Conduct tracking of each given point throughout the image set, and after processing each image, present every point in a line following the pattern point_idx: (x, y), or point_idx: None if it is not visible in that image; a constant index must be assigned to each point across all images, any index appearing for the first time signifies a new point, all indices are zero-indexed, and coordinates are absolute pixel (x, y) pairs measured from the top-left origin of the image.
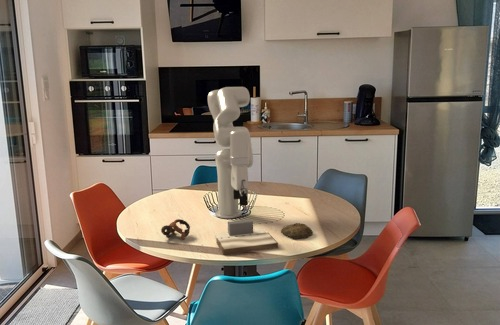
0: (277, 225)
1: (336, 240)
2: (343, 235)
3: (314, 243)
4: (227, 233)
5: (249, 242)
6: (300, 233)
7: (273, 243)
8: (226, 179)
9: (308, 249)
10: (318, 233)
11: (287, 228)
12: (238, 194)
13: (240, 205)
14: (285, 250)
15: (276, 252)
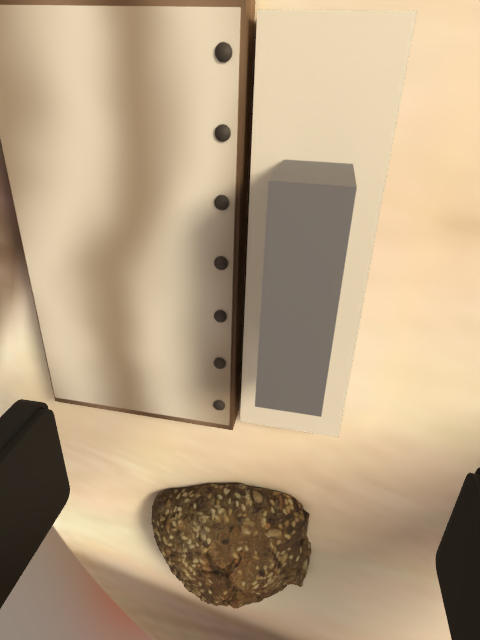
0: (403, 526)
1: (114, 593)
2: (158, 633)
3: (99, 527)
4: (351, 156)
5: (80, 254)
6: (156, 539)
7: (53, 378)
8: None
9: None
10: None
11: (225, 529)
12: (473, 620)
13: (21, 403)
14: (37, 398)
15: (16, 351)
